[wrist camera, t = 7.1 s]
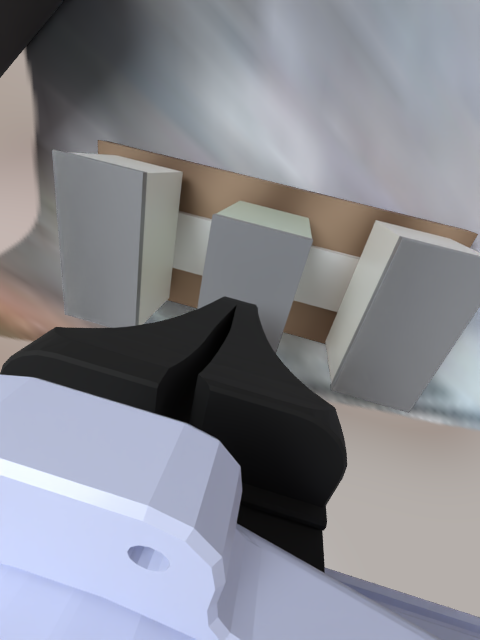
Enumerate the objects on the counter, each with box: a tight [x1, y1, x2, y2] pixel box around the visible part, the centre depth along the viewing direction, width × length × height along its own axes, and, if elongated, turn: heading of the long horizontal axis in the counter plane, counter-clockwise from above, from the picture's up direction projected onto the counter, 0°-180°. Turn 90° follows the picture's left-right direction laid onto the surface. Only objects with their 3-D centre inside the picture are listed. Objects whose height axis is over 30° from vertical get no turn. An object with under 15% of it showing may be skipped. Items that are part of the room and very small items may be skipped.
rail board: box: [98, 140, 478, 344], centre depth 19 cm, size 22×9×2 cm, turn 78°
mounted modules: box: [52, 150, 480, 413], centre depth 16 cm, size 19×8×5 cm, turn 78°
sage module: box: [197, 201, 313, 353], centre depth 16 cm, size 4×6×6 cm, turn 168°
